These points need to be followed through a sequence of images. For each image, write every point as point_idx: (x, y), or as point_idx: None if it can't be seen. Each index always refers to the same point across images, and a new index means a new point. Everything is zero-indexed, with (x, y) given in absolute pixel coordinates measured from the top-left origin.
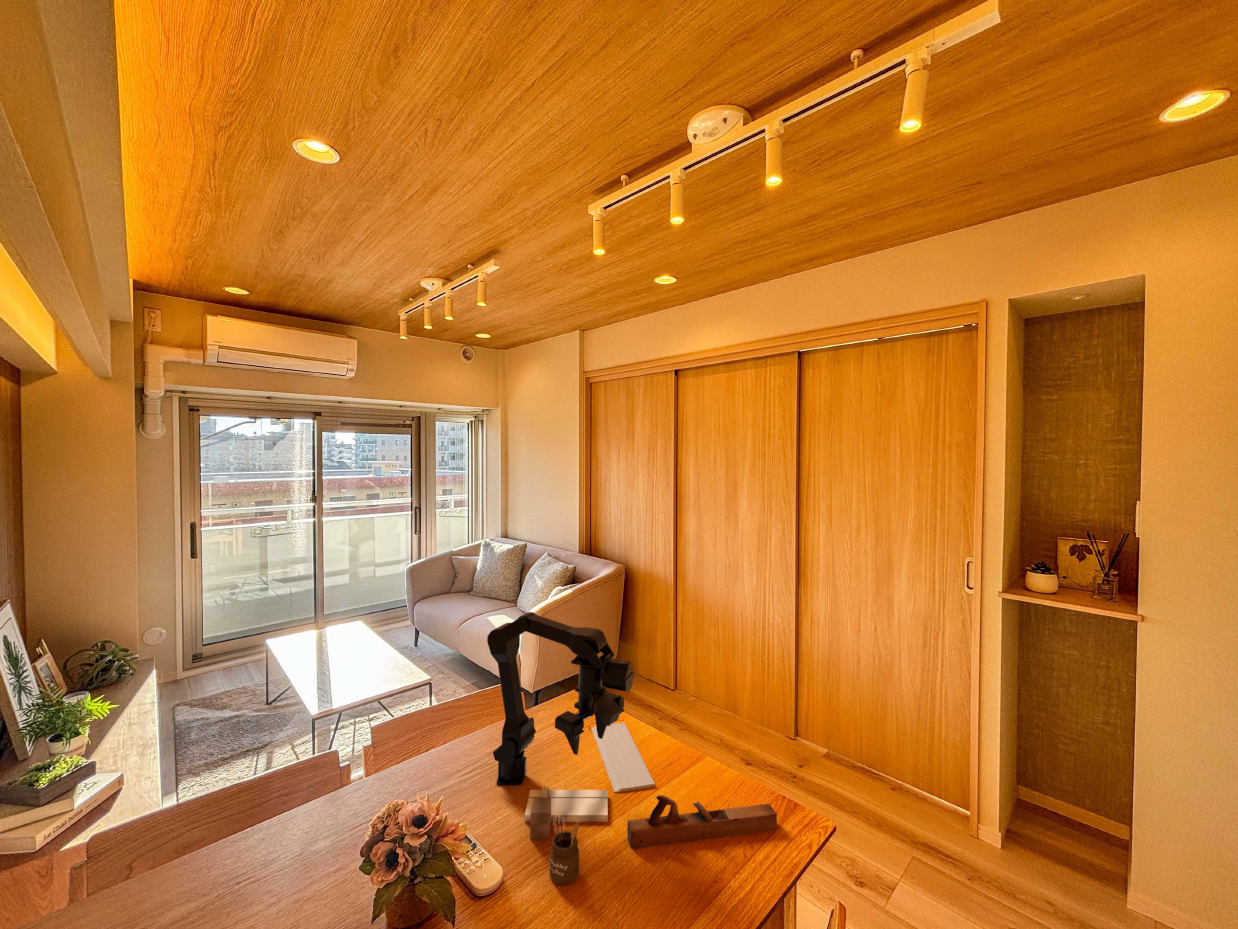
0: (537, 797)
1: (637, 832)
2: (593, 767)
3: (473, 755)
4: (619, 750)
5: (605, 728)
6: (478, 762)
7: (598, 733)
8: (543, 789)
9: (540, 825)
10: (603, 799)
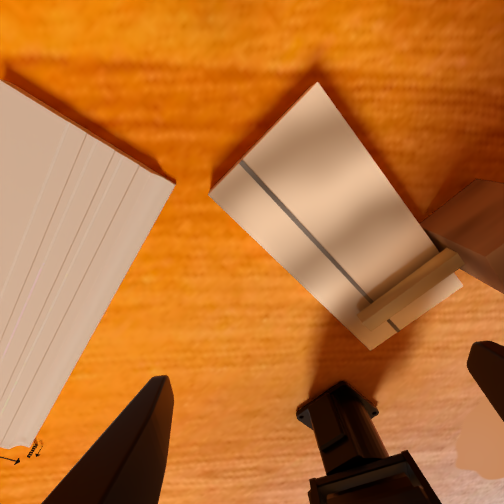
0: None
1: None
2: (144, 322)
3: None
4: (11, 328)
5: (82, 469)
6: None
7: (166, 436)
8: (379, 325)
9: None
10: (258, 165)
